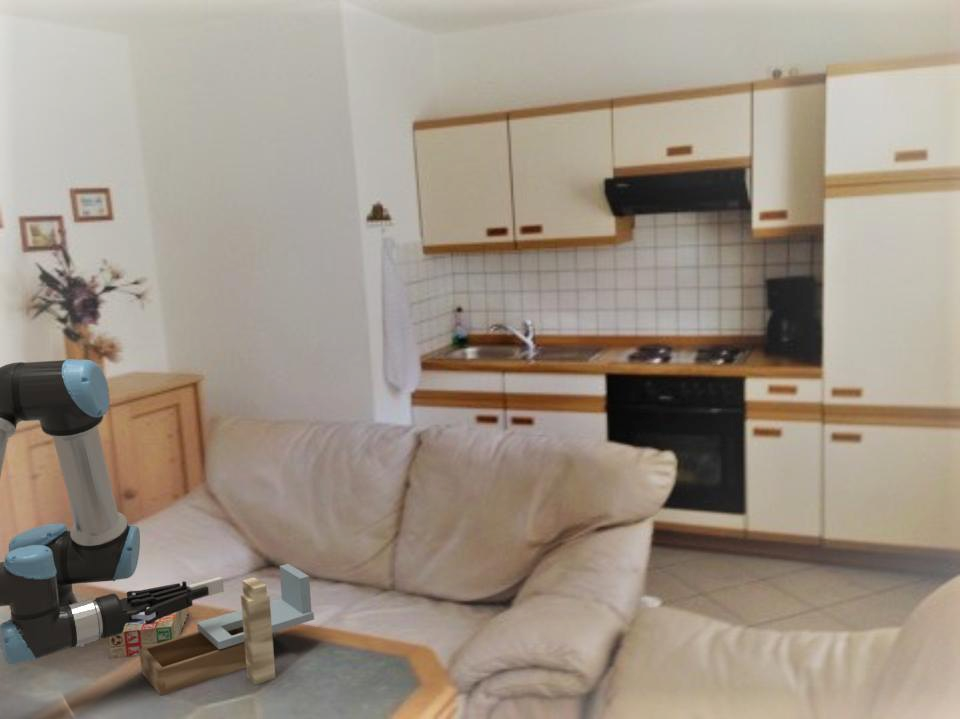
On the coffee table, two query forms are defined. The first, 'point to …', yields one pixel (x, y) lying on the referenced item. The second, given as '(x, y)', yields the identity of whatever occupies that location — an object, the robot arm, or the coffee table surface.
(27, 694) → the coffee table surface
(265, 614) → the key
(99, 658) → the coffee table surface
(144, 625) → the stack of blocks
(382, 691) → the coffee table surface
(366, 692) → the coffee table surface
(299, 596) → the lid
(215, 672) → the wooden box
